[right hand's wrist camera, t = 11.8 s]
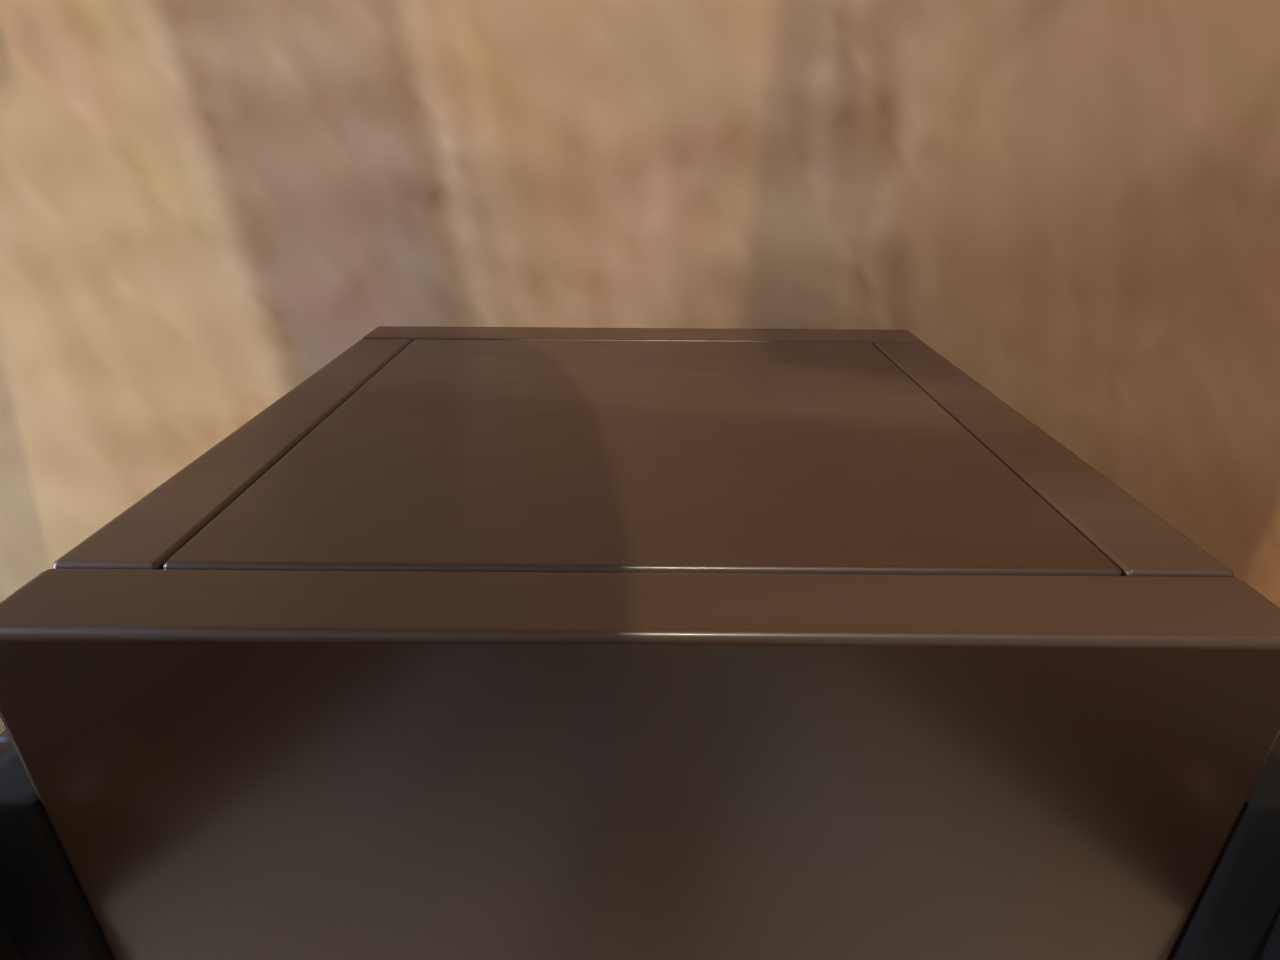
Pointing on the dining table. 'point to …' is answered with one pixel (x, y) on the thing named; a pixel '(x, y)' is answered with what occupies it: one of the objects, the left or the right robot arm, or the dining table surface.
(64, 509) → the dining table surface
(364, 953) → the cabinet
